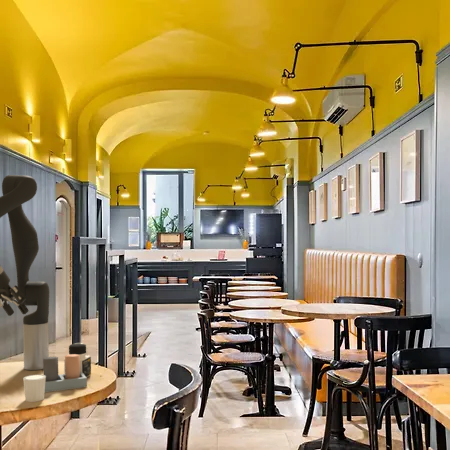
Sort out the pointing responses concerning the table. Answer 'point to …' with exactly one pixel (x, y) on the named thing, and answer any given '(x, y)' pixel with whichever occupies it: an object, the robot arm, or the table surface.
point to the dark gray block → (50, 368)
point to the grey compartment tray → (68, 376)
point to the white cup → (34, 387)
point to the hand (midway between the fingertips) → (18, 313)
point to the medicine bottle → (81, 358)
